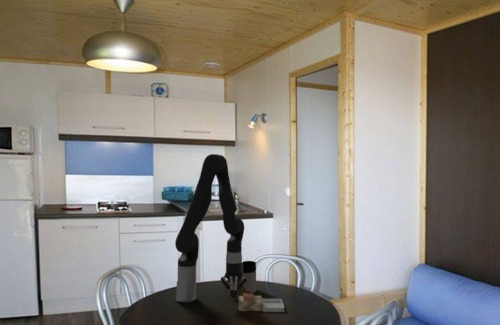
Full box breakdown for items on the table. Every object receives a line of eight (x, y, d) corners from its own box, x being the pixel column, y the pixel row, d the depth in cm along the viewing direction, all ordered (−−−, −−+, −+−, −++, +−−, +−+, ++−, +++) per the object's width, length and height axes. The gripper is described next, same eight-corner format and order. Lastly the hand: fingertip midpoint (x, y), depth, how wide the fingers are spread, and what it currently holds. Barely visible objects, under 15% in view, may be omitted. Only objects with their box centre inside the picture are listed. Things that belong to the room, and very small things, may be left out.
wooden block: (251, 298, 195) (252, 262, 195) (251, 301, 191) (251, 264, 191) (233, 297, 195) (234, 262, 196) (233, 300, 191) (233, 264, 191)
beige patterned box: (238, 310, 177) (239, 302, 177) (238, 304, 186) (238, 295, 186) (262, 310, 178) (262, 302, 178) (261, 304, 187) (261, 295, 187)
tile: (243, 300, 180) (243, 296, 180) (243, 297, 185) (243, 292, 185) (253, 300, 180) (254, 296, 180) (253, 297, 185) (253, 293, 185)
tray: (262, 312, 176) (263, 307, 176) (261, 302, 188) (261, 298, 188) (284, 312, 177) (284, 307, 177) (281, 302, 189) (281, 298, 189)
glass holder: (258, 292, 204) (258, 264, 204) (232, 293, 201) (232, 265, 201) (254, 287, 213) (255, 260, 213) (229, 288, 210) (229, 261, 210)
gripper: (219, 262, 178) (219, 300, 178) (248, 262, 179) (247, 300, 178) (220, 259, 186) (219, 295, 185) (247, 259, 186) (247, 295, 186)
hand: (233, 297), depth 182 cm, fingers closed
